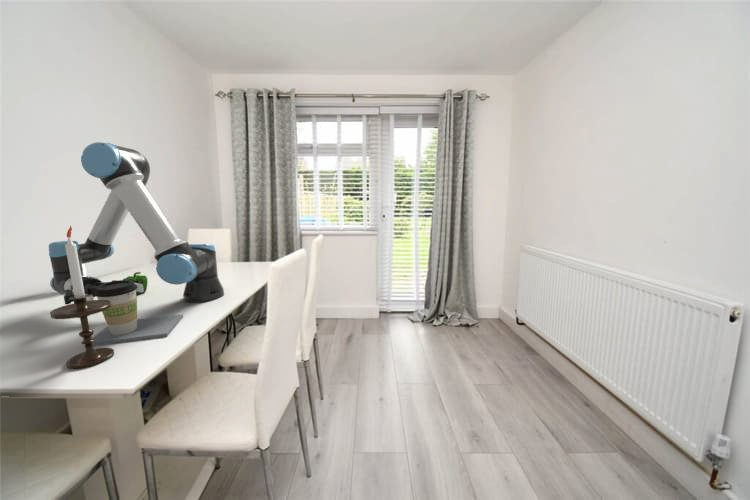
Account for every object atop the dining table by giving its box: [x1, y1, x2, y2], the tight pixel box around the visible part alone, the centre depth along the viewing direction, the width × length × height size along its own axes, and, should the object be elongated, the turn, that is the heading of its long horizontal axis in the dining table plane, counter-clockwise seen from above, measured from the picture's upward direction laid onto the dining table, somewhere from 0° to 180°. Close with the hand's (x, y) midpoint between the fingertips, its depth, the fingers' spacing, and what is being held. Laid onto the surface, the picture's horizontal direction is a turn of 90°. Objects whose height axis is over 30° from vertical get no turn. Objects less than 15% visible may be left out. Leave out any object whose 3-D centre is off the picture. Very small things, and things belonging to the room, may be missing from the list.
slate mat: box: [92, 314, 184, 347], centre depth 94 cm, size 20×16×1 cm
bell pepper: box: [122, 271, 148, 296], centre depth 131 cm, size 8×8×10 cm
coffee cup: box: [94, 279, 138, 335], centre depth 89 cm, size 10×10×15 cm
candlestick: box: [49, 225, 115, 370], centre depth 74 cm, size 11×11×35 cm
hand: (118, 294), depth 96 cm, fingers open, 13 cm apart
